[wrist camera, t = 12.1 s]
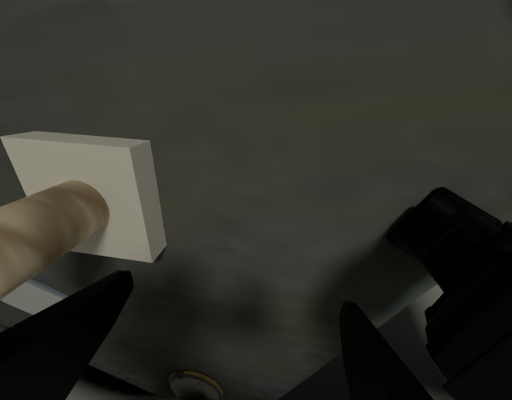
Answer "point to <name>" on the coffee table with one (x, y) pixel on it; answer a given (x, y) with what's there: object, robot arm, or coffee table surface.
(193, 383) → the apothecary jar
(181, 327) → the coffee table surface
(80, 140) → the cream plinth
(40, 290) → the smartphone
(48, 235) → the birch pillar
